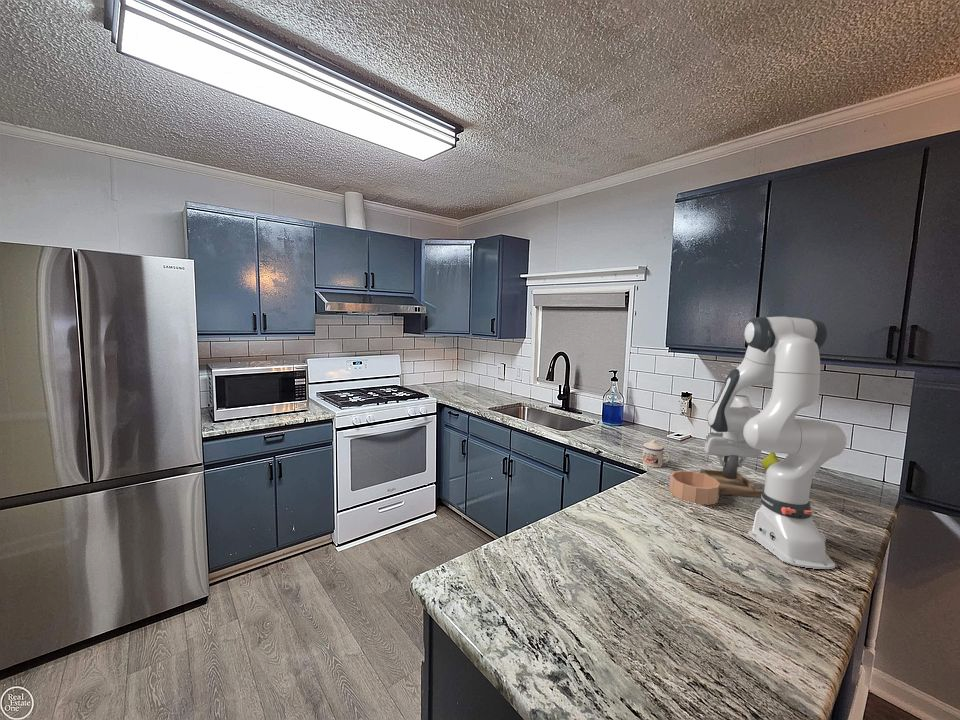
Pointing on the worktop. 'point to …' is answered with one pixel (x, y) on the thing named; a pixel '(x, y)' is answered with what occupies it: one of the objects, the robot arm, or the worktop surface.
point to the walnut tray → (734, 485)
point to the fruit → (769, 460)
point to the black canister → (730, 466)
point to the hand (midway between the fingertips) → (730, 466)
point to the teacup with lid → (653, 454)
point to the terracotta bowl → (694, 487)
